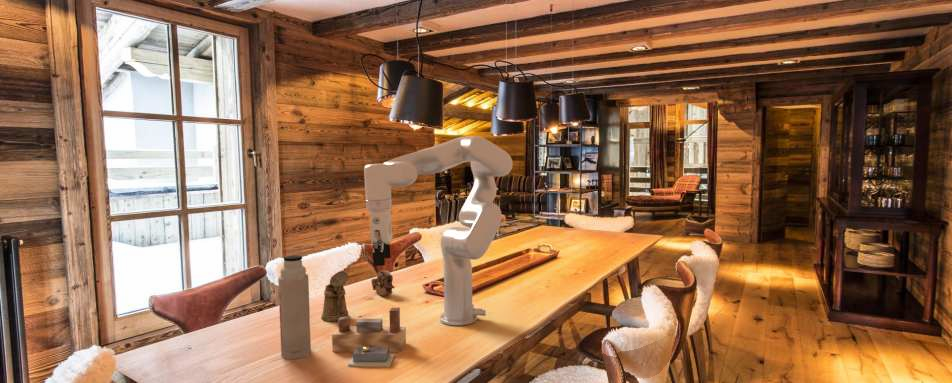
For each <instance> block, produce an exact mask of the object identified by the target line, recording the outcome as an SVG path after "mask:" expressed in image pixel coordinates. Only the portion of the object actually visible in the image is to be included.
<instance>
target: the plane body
mask: <svg viewBox="0 0 952 383" xmlns="http://www.w3.org/2000/svg"><path fill="white" fill-rule="evenodd" d="M400 310H401V308H400V307H391V308H390V309H389V310H388V311H389V326H384V325H383V322H384V321H383V319H382V318H358V319H357V320H356V321H355V325H354V326H351V322H350V321H351V320H350V318H351V317H349V316H348V317H340V318H338V321H337V322H338V327H337V329H336V330H335V331H334V332H332V335H331V341H332V342H331V343H332V345H331V347H332V352H335V353H336V352H340V353H341V352H342V353H343V352H348V353H350V352H352V353H354V351H355V350H356V348H357V347H364V346H369V347H390V353H402V352H403V350H404V348H405V346H406V344H407V327H406V326H401V313H400V312H401V311H400Z"/></svg>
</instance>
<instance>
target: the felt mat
mask: <svg viewBox="0 0 952 383" xmlns="http://www.w3.org/2000/svg"><path fill="white" fill-rule="evenodd" d="M394 357H395V354H394V353H390V356H389V358H388V360H387V362H353V357H352V358H351V359H350V361H349V362H348V363H347V367H376V368H377V367H380V368H381V367H383V368H385V367H386V368H389V367H390V365H391V363H392V361H393V359H394Z"/></svg>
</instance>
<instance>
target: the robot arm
mask: <svg viewBox="0 0 952 383" xmlns="http://www.w3.org/2000/svg"><path fill="white" fill-rule="evenodd" d="M469 162H470V169H471V172H472V175H473V185H472V188H471V191H470V193H469V194H468V196H467V198H466V199H465V202H464V203H463V205H462V207H461V209H460V211H459V214H458V220H459V223H460V224H461V225H462V226H464V227H460V226H459V227H457V226H453V227H452V226H451V227H449V228H447V229H446V230H445V231H443V232H442V235H441V237H440V249H441V254H442V260H443V261H442V262H443V296H444V297H443V300H444V302H443V304H444V306H443V307H444V312H443V313H441V315H440V316H439V321H440V322H441V323H443V324H445V325H448V326H466V325H471V324H473V323H476V322H477V320H478V316H481V317H482V316H483V317H485V316H486V314H487V312H486V311H487V310H486V309H483V308H476V307H475V306H474V305H475V304H473V268H472V262H471V260H475V261H476V260H479V259H480V258H482V257H484V255H485V254H486V252H487V251H488V249H489V247H490V246H491V243H492V242H493V240H494V238H495V236H496V234H497V232H498V230H499V228H500V226H501V222H502V218H503V217H502V210H501V209H500V207H499V206H498V204H497V203H496V204H495V203H493V202H494V200H495V198H496V196H497V185H496V180H495V177H505V176H507V175H508V174H510V172H511V171H512V168H513V166H514V165H513V159H512V157H511V155H510V154H509V153H508V152H507V151H505V150H504V149H503V148H501V147H499V146H497V145H496V144H494V143H493V142H492V141H490V140H488V139H487V138H485V137H483V136H480V135H471V136H469V135H467V136H459V137H456V138H453V139H451V140H448V141H445V142H442V143H440V144H436V145H433V146H431V147H428V148H424V149H421V150H418V151H413V152H410V153H407V154H403V155H400V156H397V157H395V158H392V159H389V160H387V161H384V162H383V163H370V164H366V165H365V166H364V167H363V173H364V174H363V175H364V192H365V206H366V207H365V208H366V212H368V213H369V227H370V228H369V230H370V241H371V244H372V259H373V262H372V263H373V266H374V267H384V266H385V265H386V262H385V259H390V258H391V257H392V256H391V245H390V244H391V243H390V242H391V241H392V240H393V238H394V237H393V226H392V217H391V211H392V209H393V204H392V203H393V202H392V201H393V200H392V187H409V186H411V185H412V184H414V183H415V182H416V180H417V179H418V176H420V175H431V174H432V175H434V174H438V173H442V172H444V171H446V170H449V169H452V168H454V167H456V166H458V165H462V164H463V163H469Z"/></svg>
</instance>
